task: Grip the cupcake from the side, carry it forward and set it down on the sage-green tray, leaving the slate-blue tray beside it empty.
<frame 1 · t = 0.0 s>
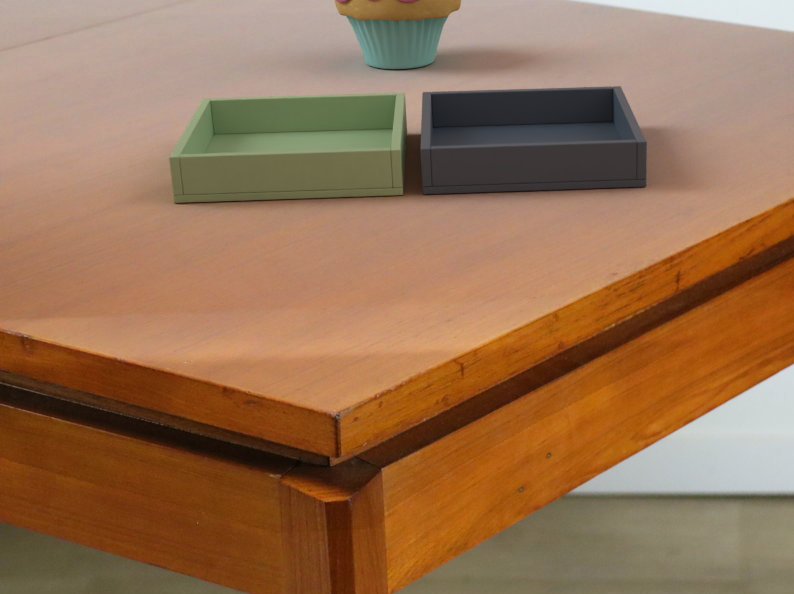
green tray: (299, 165, 82), on the table
slate tray: (528, 158, 83), on the table
cupcake: (401, 64, 105), on the table
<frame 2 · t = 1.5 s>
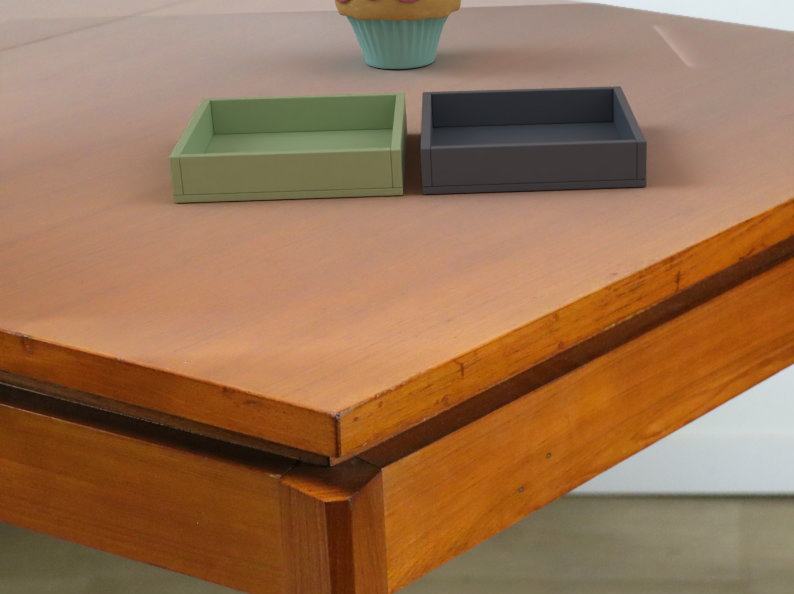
nothing on the table moved.
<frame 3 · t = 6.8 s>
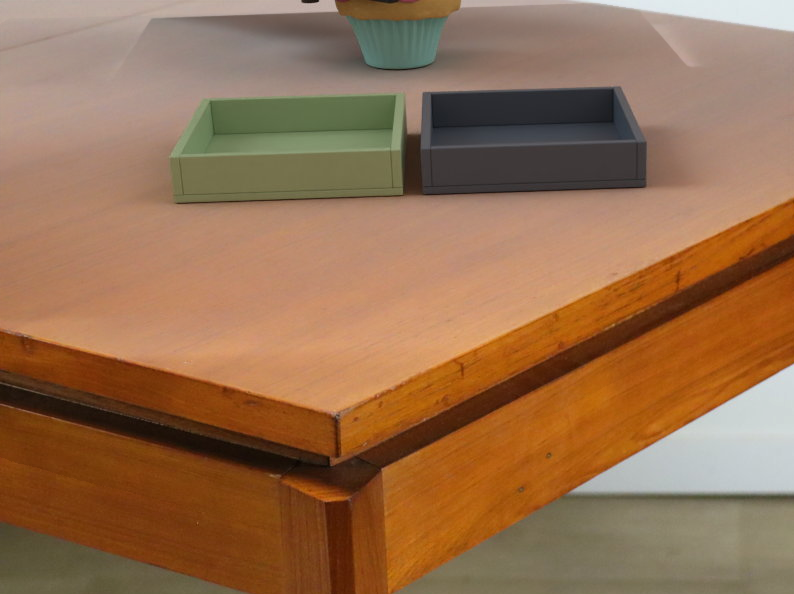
cupcake: (401, 64, 105), on the table, touching gripper
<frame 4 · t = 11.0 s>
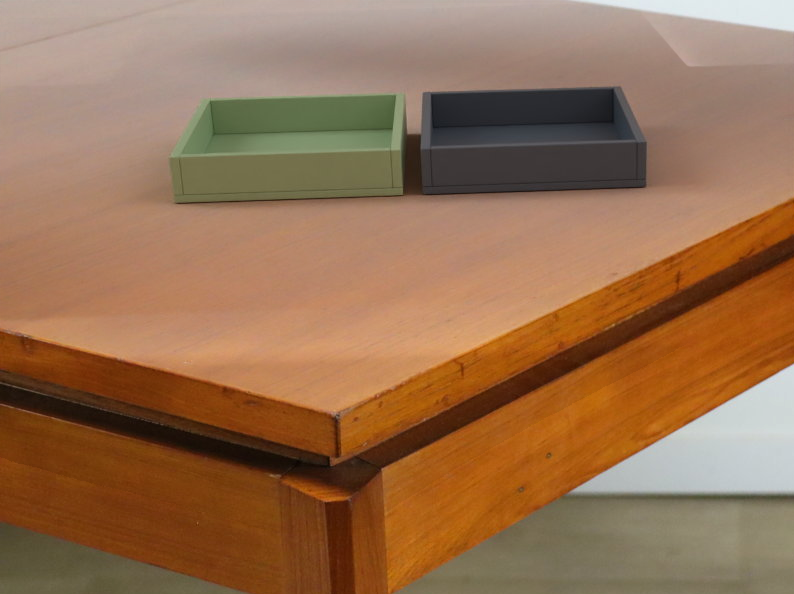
when the fingers open (7 cm above the table, at t = 15.7 s): cupcake stays where it is, resting on green tray.
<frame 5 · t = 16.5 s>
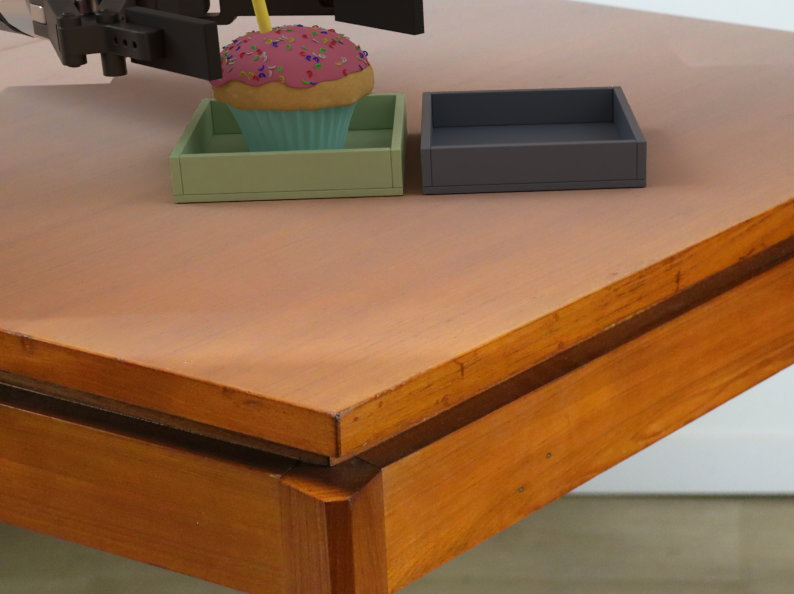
hand: (322, 29, 77), 8 cm above the table, tool horizontal, fingers open, 13 cm apart
cupcake: (299, 161, 82), resting on green tray
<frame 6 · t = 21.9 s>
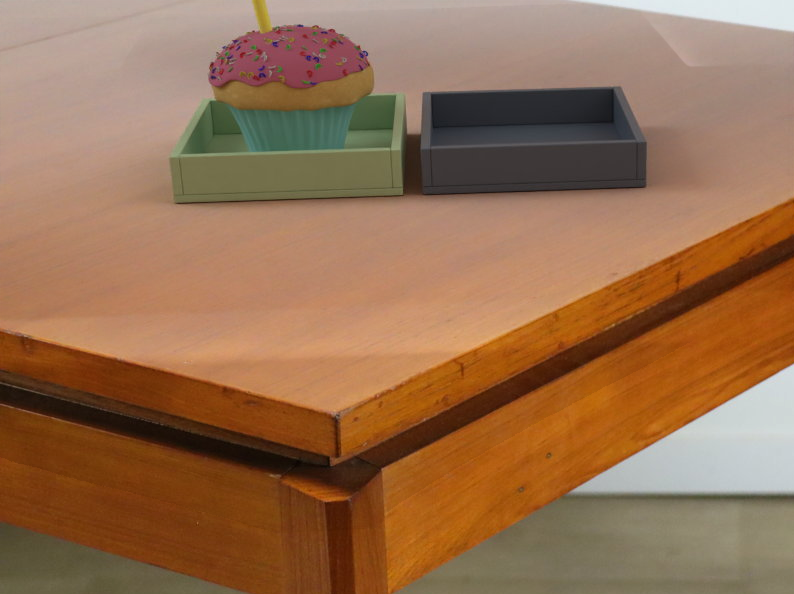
nothing on the table moved.
at the end: cupcake 0.1 cm off-centre in the green tray, point 0.2 cm above the green tray's base; cupcake tilted 0°; the gripper is holding nothing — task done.
